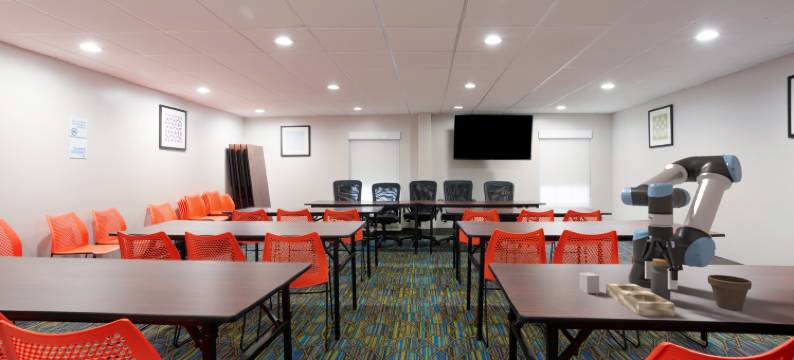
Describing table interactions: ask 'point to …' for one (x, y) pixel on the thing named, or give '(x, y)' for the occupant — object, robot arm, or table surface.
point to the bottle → (660, 279)
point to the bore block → (640, 300)
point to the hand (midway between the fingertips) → (660, 283)
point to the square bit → (589, 282)
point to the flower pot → (729, 291)
